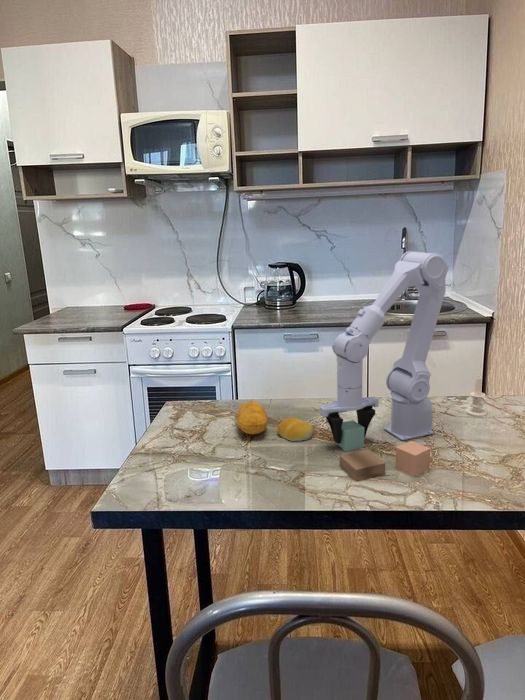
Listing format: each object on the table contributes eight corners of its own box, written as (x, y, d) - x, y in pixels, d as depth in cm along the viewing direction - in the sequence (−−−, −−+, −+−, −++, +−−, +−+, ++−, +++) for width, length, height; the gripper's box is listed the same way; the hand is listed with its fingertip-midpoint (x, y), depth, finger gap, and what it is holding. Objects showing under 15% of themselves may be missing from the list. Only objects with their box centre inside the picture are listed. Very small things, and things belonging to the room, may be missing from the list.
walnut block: (367, 461, 116) (367, 449, 116) (385, 475, 110) (385, 463, 109) (339, 468, 114) (339, 455, 113) (355, 482, 108) (356, 469, 107)
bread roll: (297, 445, 125) (296, 430, 124) (272, 434, 132) (271, 420, 131) (320, 435, 130) (320, 420, 129) (295, 425, 137) (295, 411, 136)
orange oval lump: (264, 419, 141) (263, 395, 140) (270, 440, 128) (269, 414, 126) (235, 421, 141) (234, 397, 139) (239, 443, 127) (238, 417, 126)
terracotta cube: (410, 461, 115) (411, 440, 114) (429, 469, 111) (430, 448, 110) (395, 468, 112) (396, 447, 111) (414, 477, 109) (415, 455, 107)
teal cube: (353, 439, 127) (353, 420, 126) (364, 447, 123) (364, 427, 122) (335, 443, 126) (334, 423, 124) (345, 451, 121) (345, 431, 120)
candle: (463, 409, 143) (466, 373, 140) (483, 409, 142) (486, 373, 139) (468, 416, 138) (471, 379, 135) (489, 417, 137) (492, 379, 134)
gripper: (367, 375, 126) (366, 427, 130) (313, 384, 121) (314, 438, 125) (384, 383, 120) (382, 438, 124) (328, 393, 115) (328, 450, 119)
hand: (349, 439), depth 124 cm, fingers open, 6 cm apart
